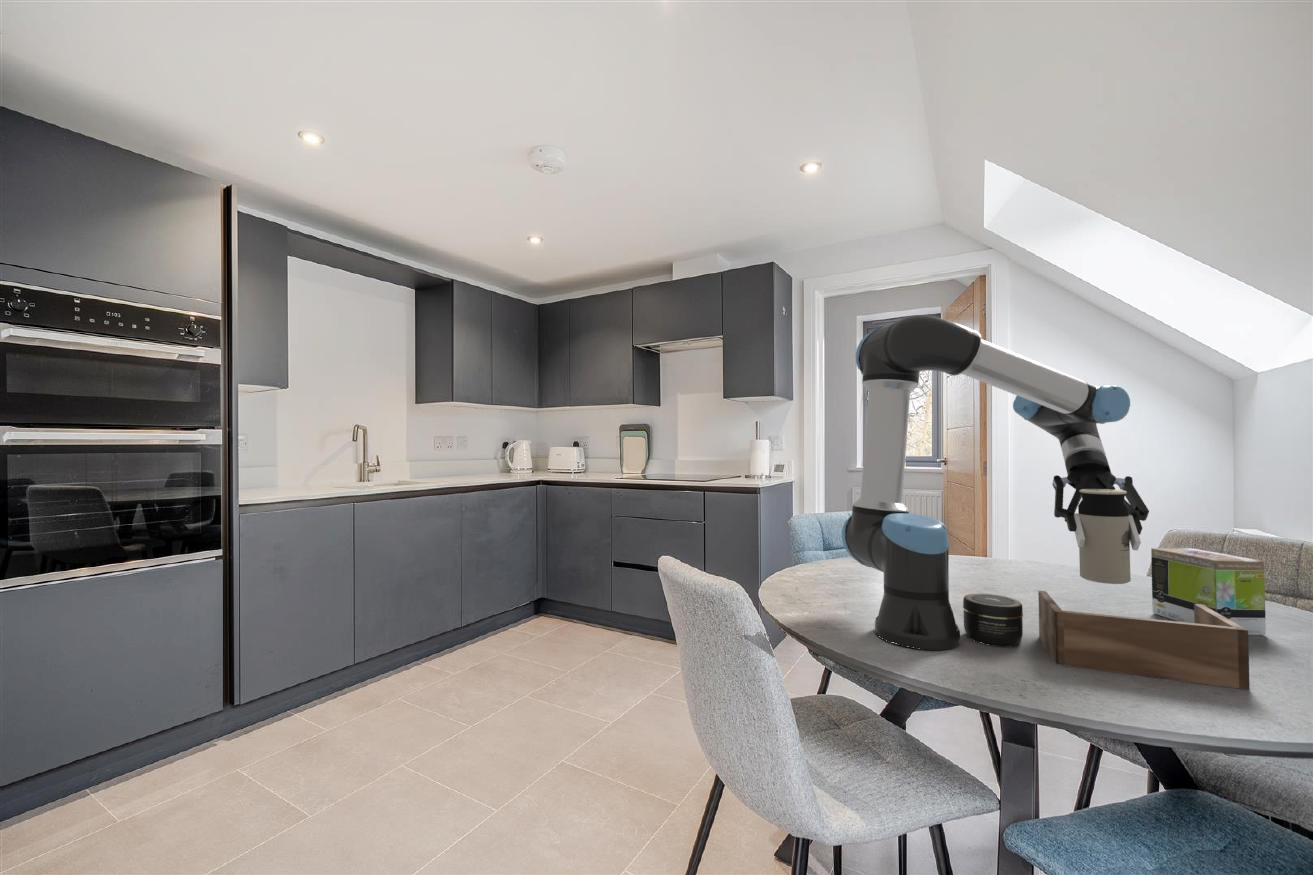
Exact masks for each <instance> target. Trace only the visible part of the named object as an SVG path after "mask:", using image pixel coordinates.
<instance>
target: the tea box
mask: <svg viewBox="0 0 1313 875" xmlns="http://www.w3.org/2000/svg"><path fill="white" fill-rule="evenodd" d="M1150 554H1151V563H1150V564H1151V595H1152V596H1151V597H1152V598H1151V600H1152V601H1151V602H1152V613H1153V614H1155V615H1157V616H1161V617H1164V618H1167V619H1169V620H1171V621H1176V622H1186V623H1195V621H1194V604H1200V605H1204V606H1206V607H1208V608H1210V609H1211V610H1213V611H1215V612H1217V613H1218V614H1220V615H1222V616H1224V617H1225V618H1227V619H1229V620H1231V621H1232V622H1234V623H1236V624H1238V625H1239V626H1241V627H1243V628H1245V629H1247V630H1248V636H1265V635H1266V624H1267V623H1266V619H1267V618H1266V591H1265V588H1266V586H1265V585H1266V584H1265V562H1264V560H1261V559H1256V558H1248V557H1244V556H1239V555H1237V556H1236V555H1233V554H1228V553H1227V554H1226V553H1221V552H1216V551H1210V550H1204V549H1198V548H1188V547H1186V548H1185V547H1184V548H1178V547H1176V548H1174V547H1173V548H1172V547H1170V548H1169V547H1166V548H1163V547H1158V548H1157V547H1154V548H1151V553H1150Z"/></svg>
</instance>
